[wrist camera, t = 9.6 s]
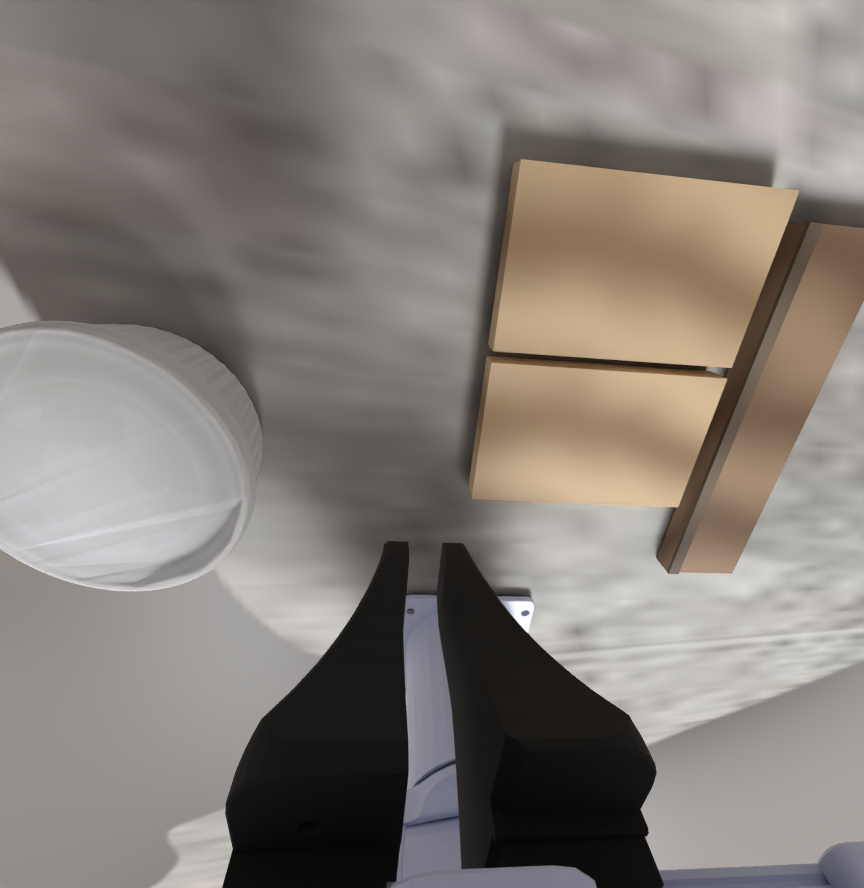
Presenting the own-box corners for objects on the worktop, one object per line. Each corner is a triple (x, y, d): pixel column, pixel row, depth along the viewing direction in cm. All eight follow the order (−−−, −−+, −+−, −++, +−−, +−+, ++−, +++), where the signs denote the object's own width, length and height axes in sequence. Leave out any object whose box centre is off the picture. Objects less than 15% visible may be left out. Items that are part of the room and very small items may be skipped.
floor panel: (718, 559, 27) (733, 575, 25) (656, 557, 26) (668, 573, 25) (868, 231, 19) (900, 231, 18) (784, 222, 19) (811, 222, 17)
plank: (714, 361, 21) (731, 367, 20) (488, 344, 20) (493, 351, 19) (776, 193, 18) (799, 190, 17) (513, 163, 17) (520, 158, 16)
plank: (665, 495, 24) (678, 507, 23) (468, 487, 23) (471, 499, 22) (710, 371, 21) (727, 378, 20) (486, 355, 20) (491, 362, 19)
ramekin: (199, 556, 24) (149, 635, 20) (-13, 428, 20) (-138, 486, 16) (331, 423, 21) (310, 476, 17) (113, 243, 18) (6, 246, 13)
